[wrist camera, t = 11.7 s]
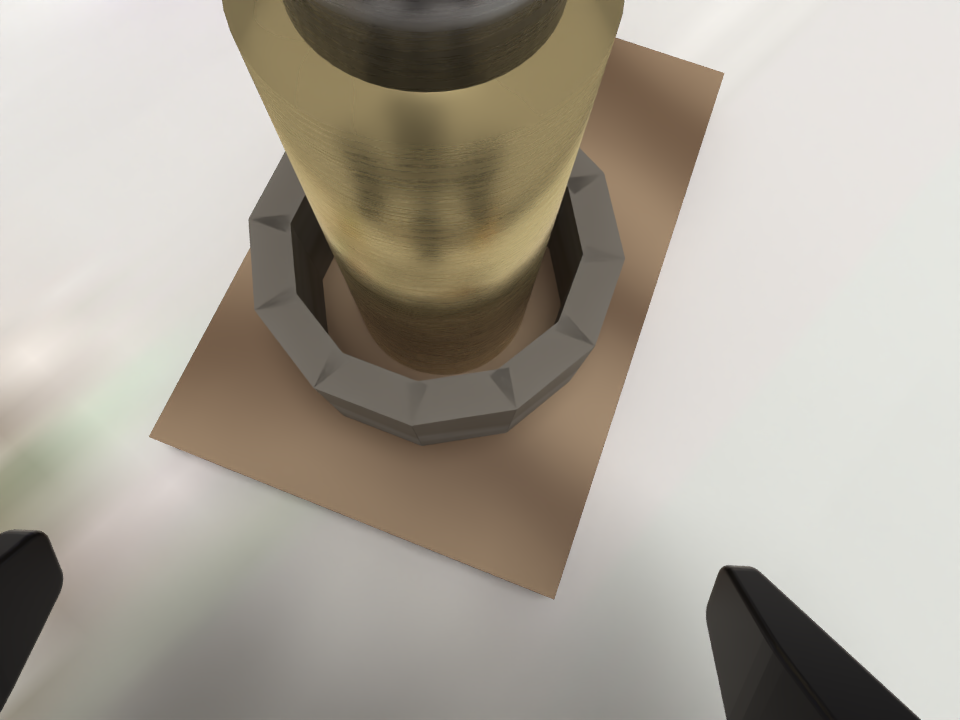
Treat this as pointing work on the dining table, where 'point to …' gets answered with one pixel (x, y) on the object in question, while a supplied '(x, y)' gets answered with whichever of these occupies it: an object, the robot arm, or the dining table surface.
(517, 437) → the fitting board
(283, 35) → the gold two-tone capped cylinder
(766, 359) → the dining table surface
